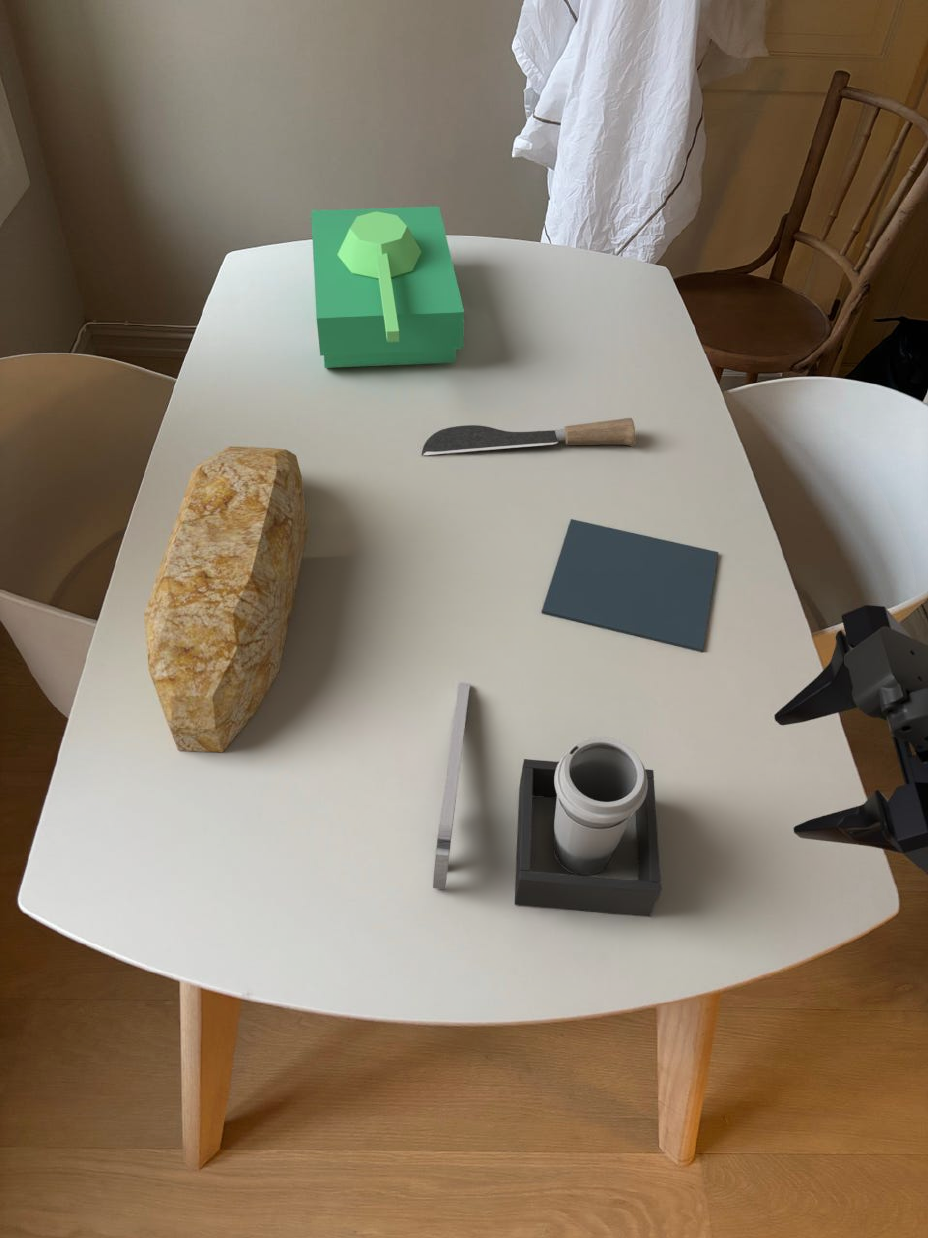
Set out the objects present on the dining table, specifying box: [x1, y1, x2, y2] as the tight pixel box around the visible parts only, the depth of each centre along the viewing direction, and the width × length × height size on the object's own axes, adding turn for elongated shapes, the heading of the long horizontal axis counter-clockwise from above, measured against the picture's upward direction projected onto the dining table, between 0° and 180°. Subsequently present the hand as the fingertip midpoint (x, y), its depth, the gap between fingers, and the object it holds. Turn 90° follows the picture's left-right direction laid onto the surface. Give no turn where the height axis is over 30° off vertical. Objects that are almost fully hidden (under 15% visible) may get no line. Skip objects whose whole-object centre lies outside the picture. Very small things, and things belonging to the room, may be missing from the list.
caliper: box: [432, 682, 471, 890], centre depth 78 cm, size 20×1×6 cm, turn 174°
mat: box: [541, 518, 719, 653], centre depth 96 cm, size 16×14×1 cm
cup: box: [553, 736, 648, 876], centre depth 72 cm, size 7×7×12 cm
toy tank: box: [310, 206, 465, 369], centre depth 120 cm, size 18×12×35 cm
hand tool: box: [421, 417, 636, 456], centre depth 110 cm, size 6×3×25 cm
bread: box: [143, 446, 309, 753], centre depth 89 cm, size 36×11×10 cm, turn 178°
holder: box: [514, 758, 662, 917], centre depth 75 cm, size 11×11×4 cm
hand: (786, 774), depth 66 cm, fingers open, 9 cm apart
